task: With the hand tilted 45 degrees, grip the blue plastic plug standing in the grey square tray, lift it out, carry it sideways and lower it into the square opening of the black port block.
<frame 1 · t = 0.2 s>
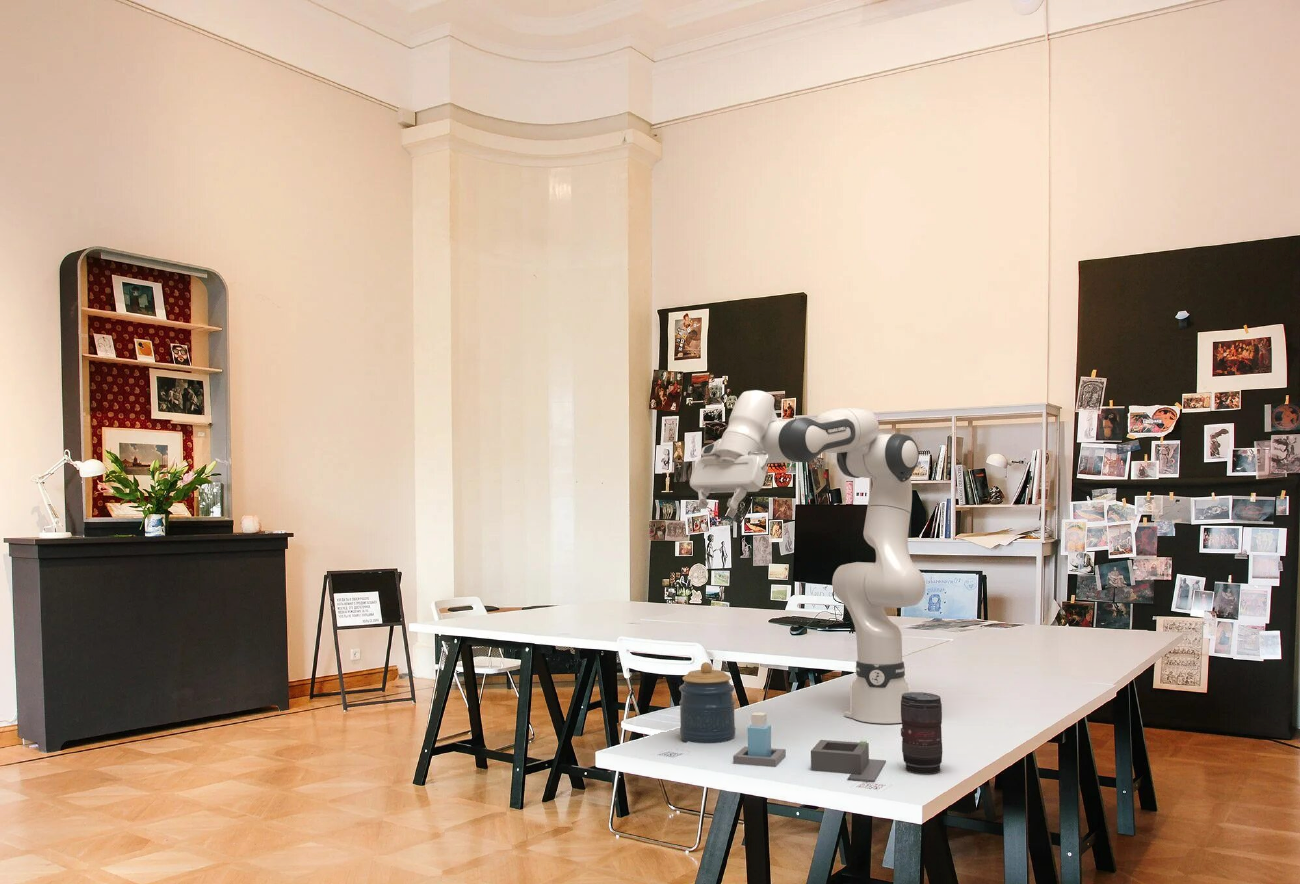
hand: (716, 507, 219), 54 cm above the table, tool tilted 30°, fingers open, 8 cm apart
camera lens: (923, 771, 202), on the table
plug: (759, 759, 210), resting on grey square tray
port: (840, 768, 204), on the table
grey square tray: (759, 762, 210), on the table
canister: (707, 740, 232), on the table
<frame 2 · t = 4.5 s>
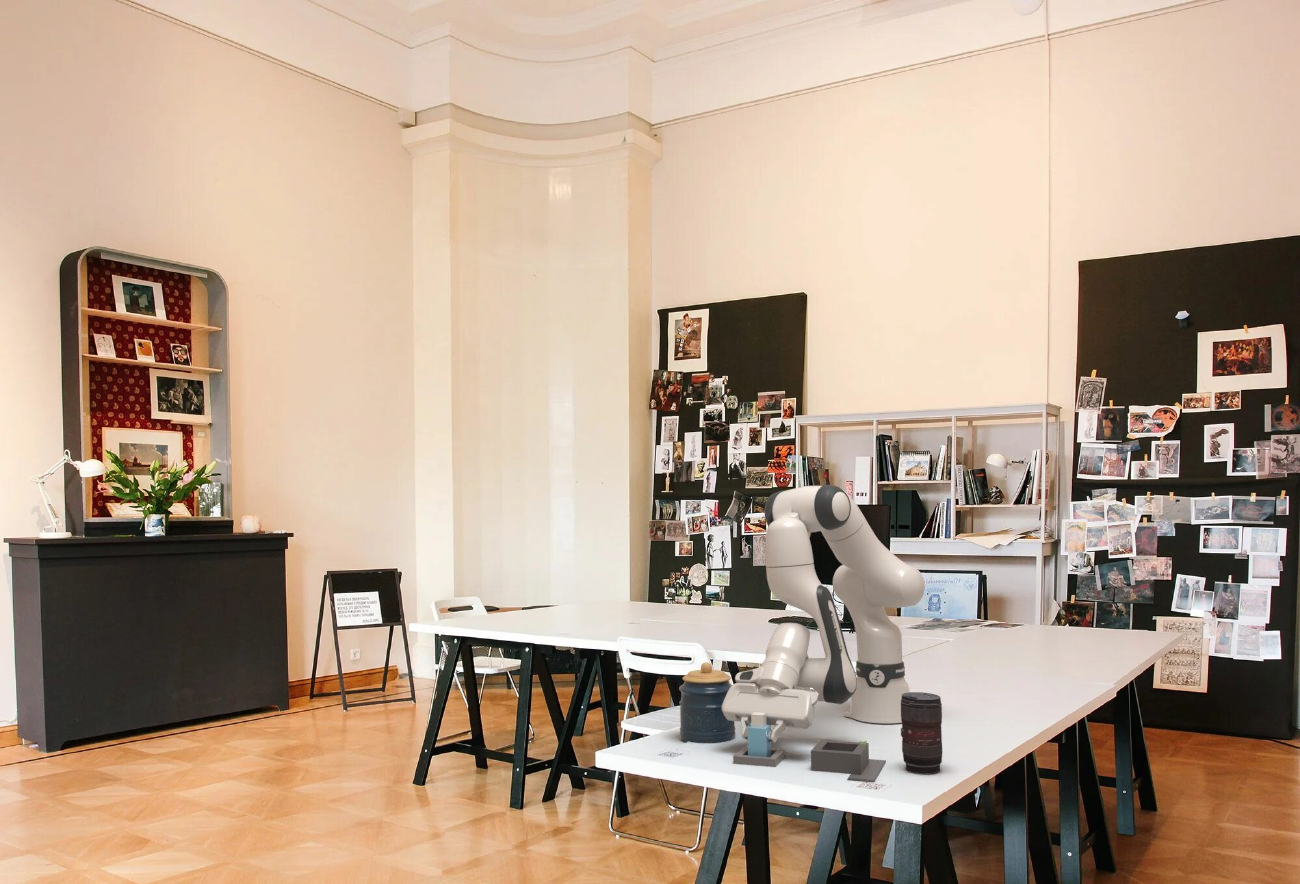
hand: (758, 739, 210), 5 cm above the table, tool tilted 45°, fingers closed on plug, 4 cm apart
plug: (759, 759, 210), point 1 cm above the table, touching gripper, grey square tray
everything else where it was.
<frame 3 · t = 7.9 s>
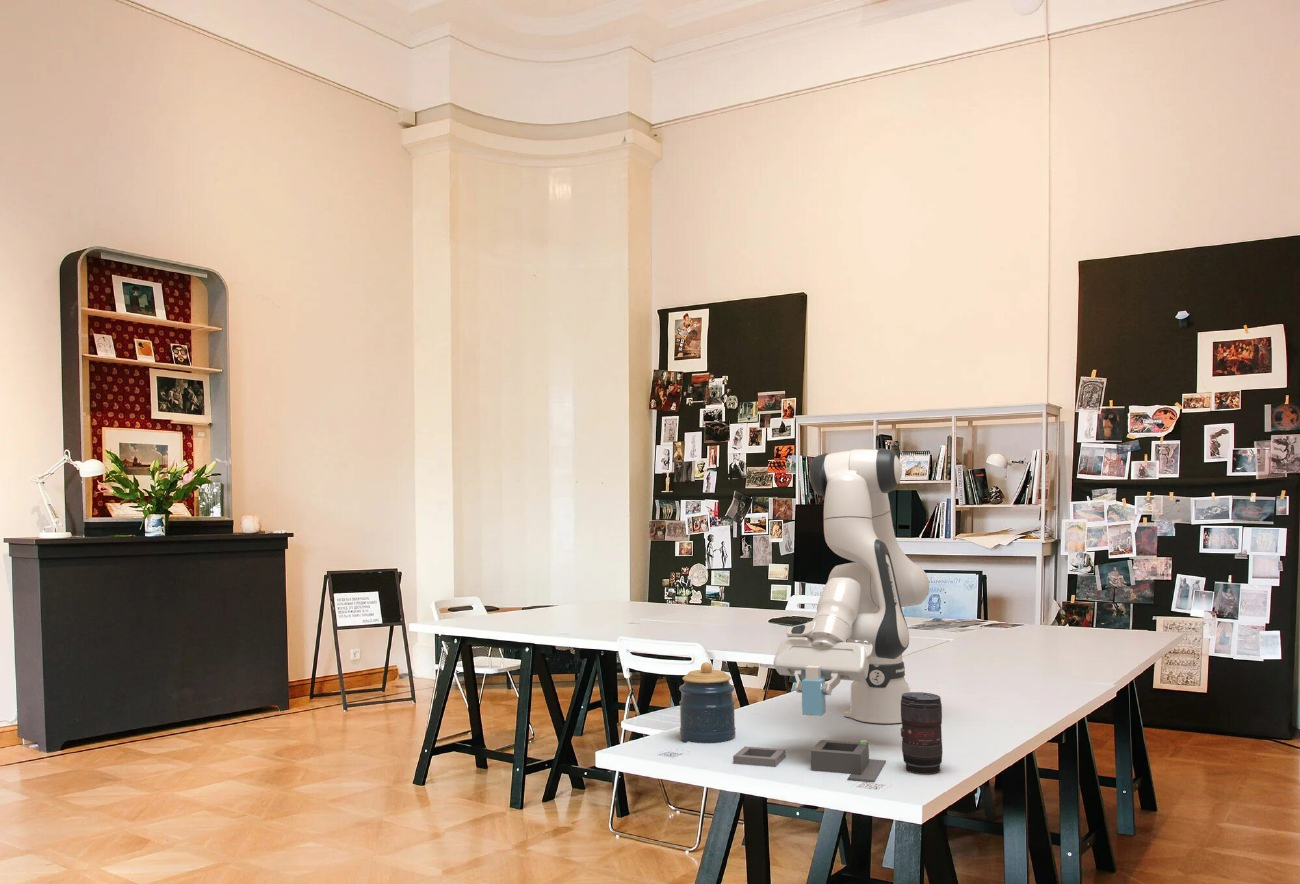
hand: (812, 692, 207), 15 cm above the table, tool tilted 45°, fingers closed on plug, 4 cm apart
plug: (814, 713, 207), point 11 cm above the table, touching gripper
everything else where it was.
when the fingers open (7 cm above the table, at t = 11.4 s): plug drops 2 cm, resting on port.
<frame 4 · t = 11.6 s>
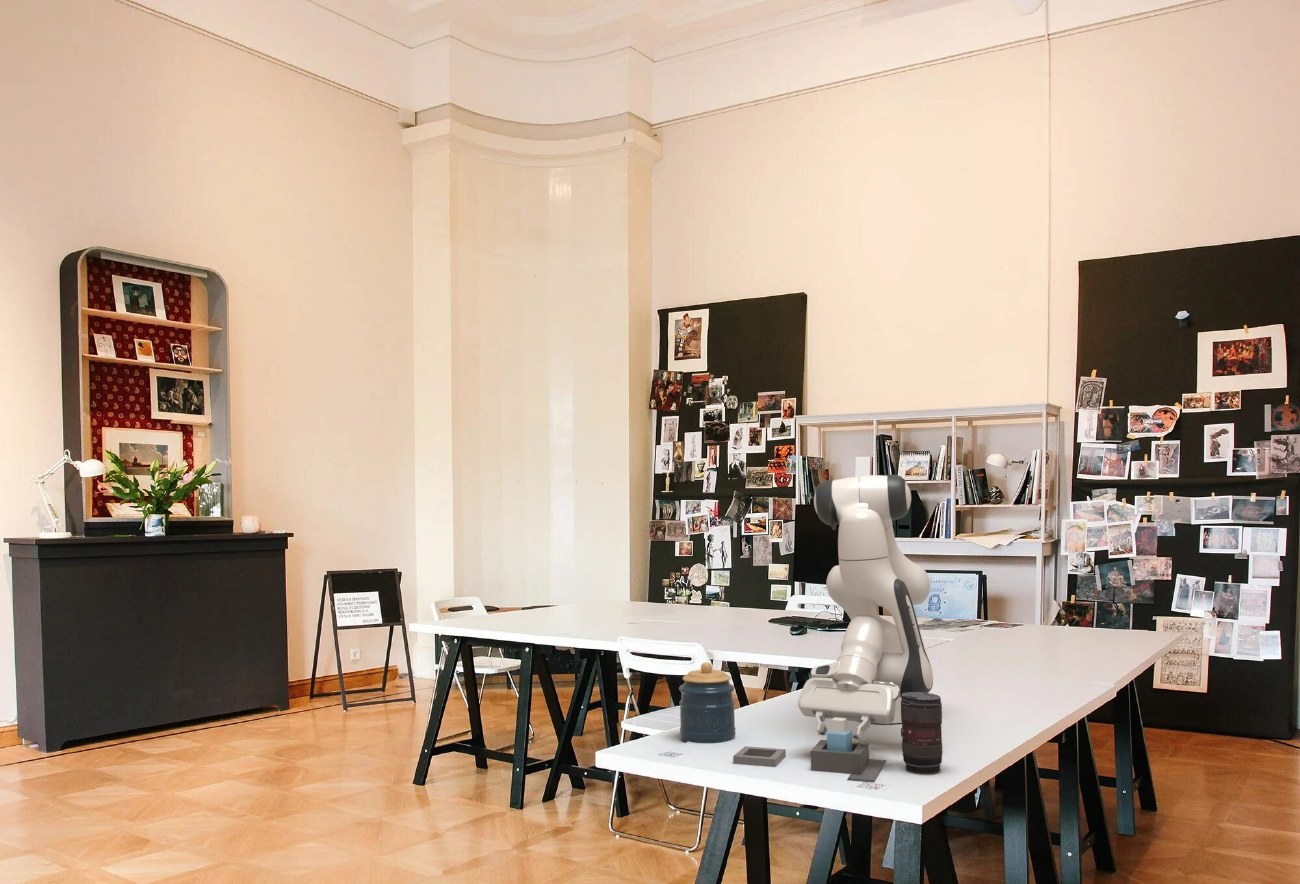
hand: (838, 735, 204), 7 cm above the table, tool tilted 45°, fingers open, 6 cm apart
plug: (840, 766, 204), resting on port
everything else where it was.
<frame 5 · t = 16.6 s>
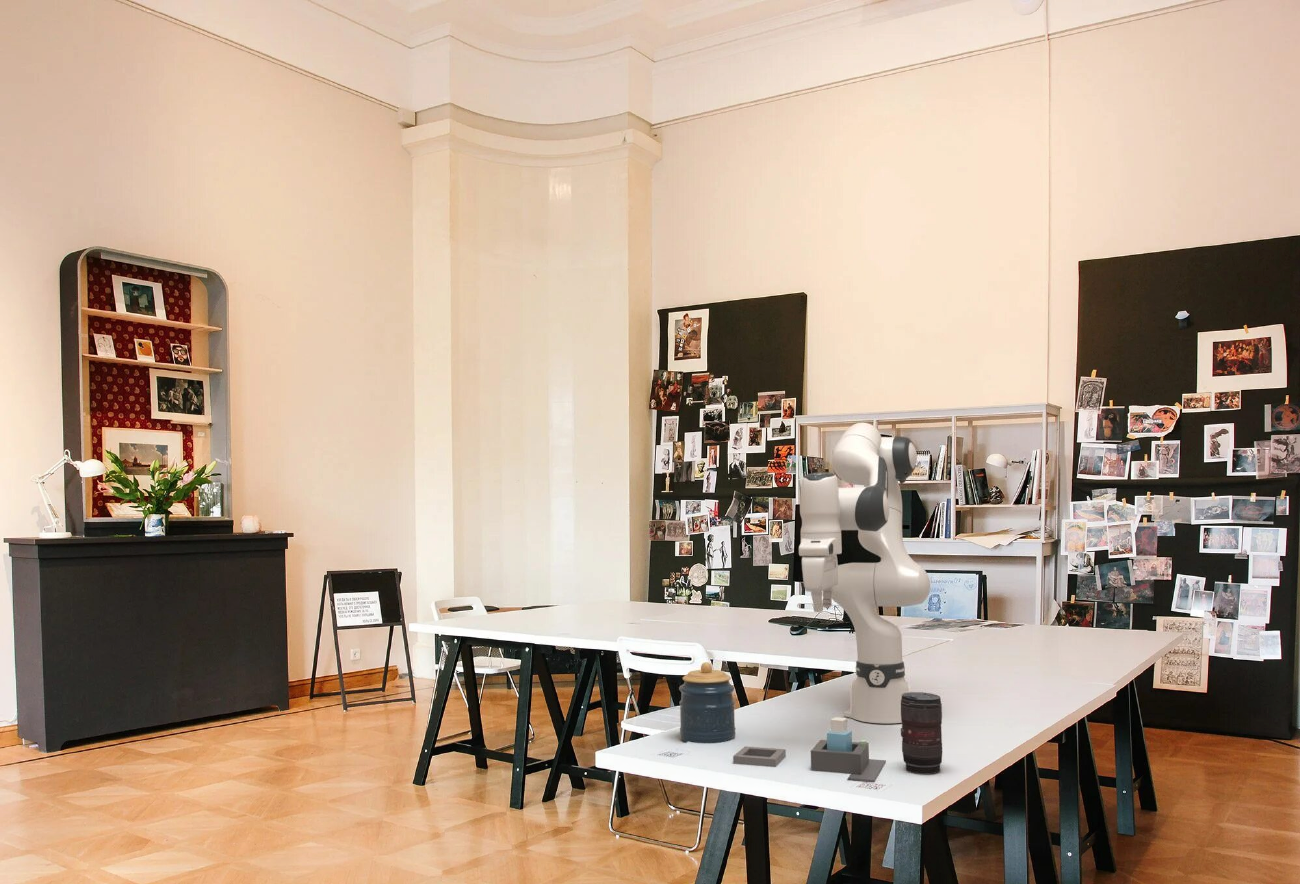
hand: (822, 609, 218), 31 cm above the table, tool pointing down, fingers open, 8 cm apart
nothing on the table moved.
at the end: plug 0.1 cm off-centre on the port, point 0.4 cm above the port's base; plug tilted 0°; the gripper is holding nothing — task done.
